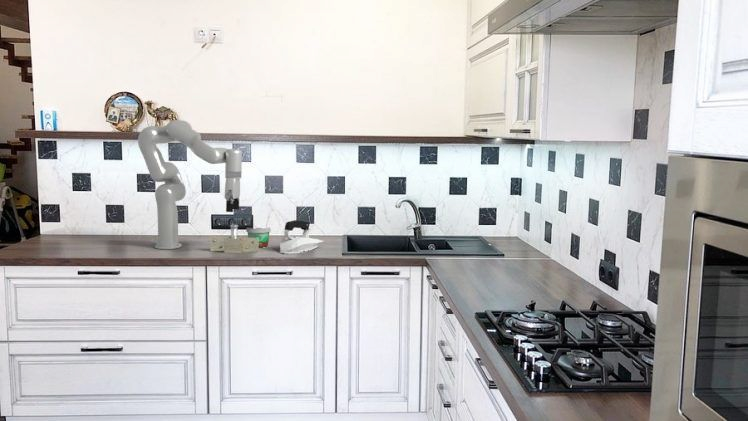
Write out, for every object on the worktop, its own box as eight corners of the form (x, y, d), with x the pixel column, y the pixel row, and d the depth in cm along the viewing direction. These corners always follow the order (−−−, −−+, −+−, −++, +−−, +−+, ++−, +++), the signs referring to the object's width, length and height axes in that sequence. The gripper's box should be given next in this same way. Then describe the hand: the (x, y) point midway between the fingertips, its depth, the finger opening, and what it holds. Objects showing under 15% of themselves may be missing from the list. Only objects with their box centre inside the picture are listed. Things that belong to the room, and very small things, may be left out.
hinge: (207, 252, 311) (207, 237, 310) (213, 249, 318) (213, 235, 318) (256, 253, 309) (256, 239, 308) (260, 250, 316) (260, 236, 316)
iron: (323, 248, 327) (323, 218, 325) (291, 255, 307) (291, 224, 305) (307, 245, 333) (307, 216, 331) (274, 252, 313) (274, 221, 312)
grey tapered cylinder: (229, 252, 312) (229, 225, 310) (231, 250, 316) (231, 224, 314) (237, 252, 312) (236, 226, 310) (239, 250, 315) (239, 224, 314)
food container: (247, 249, 320) (246, 229, 319) (246, 246, 326) (246, 227, 325) (272, 248, 324) (272, 228, 322) (270, 246, 329) (270, 226, 328)
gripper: (231, 173, 318) (230, 207, 320) (219, 176, 301) (219, 212, 303) (246, 174, 317) (245, 208, 320) (235, 176, 300) (234, 213, 302)
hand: (232, 210), depth 311 cm, fingers open, 9 cm apart
